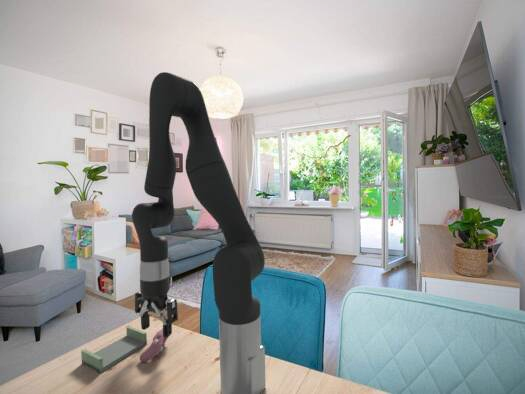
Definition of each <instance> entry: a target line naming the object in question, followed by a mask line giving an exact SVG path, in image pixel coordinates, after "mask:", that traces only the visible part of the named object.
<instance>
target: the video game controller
mask: <svg viewBox="0 0 525 394" xmlns="http://www.w3.org/2000/svg"><path fill="white" fill-rule="evenodd" d="M169 338H170V336H168V337H167V338H164V337H163V328H161V329H160V330H159V331H157V332H156V334H155V335H154V336H153V338H152V342H151V344H150V345H149V347H147V348H146V349H145V350H144V351H143V352H142V353H141V354H140V356H139V361H140V362H141V363H146V362H149V361H151V360H152V359H153V358H154V357H158V356H159V354H160V352H163V350H164V348H165V346H166V344H165V343H166V342H167V340H168V339H169Z"/></svg>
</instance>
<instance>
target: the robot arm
mask: <svg viewBox="0 0 525 394" xmlns="http://www.w3.org/2000/svg"><path fill="white" fill-rule="evenodd" d="M149 90H150V91H149V99H148V100H149V103H148V105H149V109H148V113H149V116H148V119H149V120H148V121H149V122H148V123H149V124H148V128H149V129H148V130H149V133H148V134H149V135H148V136H149V139H148V141H149V151H148V153H149V154H148V161H147V168H146V173H145V179H144V192H145V194H147V196H150V197H153V198H156V199H157V198H158V199H157V201H155V202H140V203H138V204H136V205H135V207H134V208H133V210H132V212H131V220H132V224H133V227H134V230H135V233H136V236H137V239H138V243H139V251H140V256H139V257H140V258H139V259H140V262H139V263H140V264H139V291H137V292H135V294H134V313H136V314H138V315H139V317H140V325H141V326H140V327H141V330H142V331H145V330H147V329H148V328H150V326H151V325H150V324H151V323H150V321H151V320H150V314H149V313H150V312H151V313H152V312H153V313H154V314H156V316H157V318H158V319H160V320H161V322H162V329H163V337H164V338H167V337H168V336H169V337H170V336H171V335H172V333H173V324H174V323H176V322H177V321H178V320H179V314H178V301H177V298H173V299H170V298H169V297H168V294H169V291H170V289H171V288H170V262H169V244H168V243H169V242H168V239H167V237H165V236H163V235H154V233H153V232H152V229H159V228H160V229H161V228H166V227H168V226H170V225H171V224H172V223H173V221H174V218H175V205H174V193H173V190H174V186H175V180H176V175H177V166H178V165H177V158H176V155H175V151H174V149H173V145H172V142H171V138H170V137H171V135H170V128H171V126H170V125H171V120H172V117H176V118H180V119H181V120H182V122H183V125H184V127H185V130H186V132H187V136H188V147H187V148H188V149H187V152H186V157H185V173H186V176H187V179H188V181H189V184H190V186H191V190H192V192H193V194H194V197H195V198H196V200H197V201H198V202H199V203H200V205H201V206H202V207H203V208H204V209H205V210H206V212H207V213H208V214H210V215H209V216H211V217H212V218H213V220H215V222H216V223H217V225H218V227H220V230H221V233H222V234H223V237H224V239H225V243H226V246H224V247H221V248H219V249H218V251H217V252H216V253H215V256H214V258H213V261H212V282H213V283H212V284H213V296H214V302H215V306H216V308H217V310H218V328H219V329H218V330H219V331H218V332H219V373H220V394H262V392H263V391H264V389H265V388H266V347H265V346H264V345H262V331H261V329H262V328H261V326H262V323H261V321H262V320H261V319H262V318H261V302H260V300H259V299H258V298H257V297H255V296H254V295H253V291H252V290H253V289H252V281H253V280H255V279H256V278H257V277H258V276H260V275H261V274H262V272H264V268H265V261H266V260H265V255H264V251H263V249H262V246H261V244H260V242H259V240H258V239H257V237H256V234H255V233H254V230H253V229H252V227H251V225H250V223H249V220H248V219H247V217H246V214H245V212H244V209H243V207H242V204H241V201H240V199H239V197H238V194H237V192H236V189H235V186H234V184H233V181H232V177H231V174H230V172H229V170H228V167H227V164H226V162H225V160H224V157H223V155H222V153H221V150H220V147H219V144H218V141H217V139H216V137H215V133H214V130H213V128H212V125H211V121H210V117H209V113H208V110H207V105H206V103H205V99H204V96H203V93H202V91H201V89H200V87H199V86H198V85H197V84H196V83H195V82H194V81H192V80H189V79H187V78H184V77H182V76H178V75H176V74H173V73H171V72H164V71H163V72H160V73H158V74H157V75H156V76H155V77H154V78H153V80H152V82H151V85H150V89H149ZM164 310H165V311H164ZM166 317H167V318H166ZM169 337H168V338H169ZM168 338H167V339H168Z"/></svg>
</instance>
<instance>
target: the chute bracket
mask: <svg viewBox="0 0 525 394" xmlns="http://www.w3.org/2000/svg"><path fill="white" fill-rule="evenodd" d="M125 328H126V335H124V336H123V337H120V338H119V339H117V340H115V341H114V342H112V343H110V344H108V345H106V346H105V347H103V348H101V349H99V350H97V351H96V352H92V351H90V350H87V349H85V348H84V349H82V350H81V351H80V352H81V353H80V354H81V364H82V365H84V366H85V367H87V368H89V369H91V370H93V371H95V372H97V373H98V374H101V373H103V372H105V371H106V370H108V369H109V368H111V367H113V366H114V365H116V364H118V363H119V362H121V361H122V360H124V359H125V358H127V357H128V356H130V355H132V354H133V353H136V352H137V351H138V350H140V349H141V348H143V347H145V346H147V345H148V344H147V343H148V340H147V339H148V338H147V336H148V335H147V332H146V331H144V330H142V329H141V330H140V329H139V328H135V327H132V326H130V325H128V326H126V327H125Z"/></svg>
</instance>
